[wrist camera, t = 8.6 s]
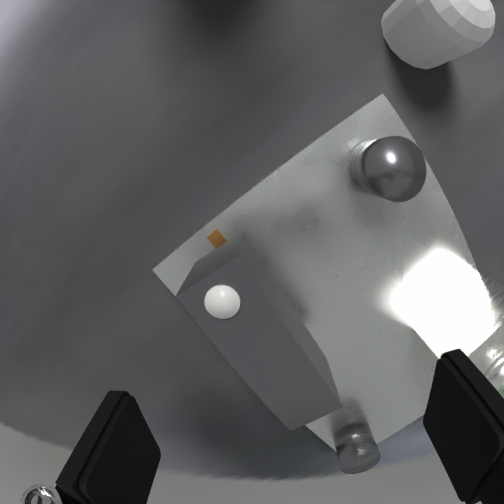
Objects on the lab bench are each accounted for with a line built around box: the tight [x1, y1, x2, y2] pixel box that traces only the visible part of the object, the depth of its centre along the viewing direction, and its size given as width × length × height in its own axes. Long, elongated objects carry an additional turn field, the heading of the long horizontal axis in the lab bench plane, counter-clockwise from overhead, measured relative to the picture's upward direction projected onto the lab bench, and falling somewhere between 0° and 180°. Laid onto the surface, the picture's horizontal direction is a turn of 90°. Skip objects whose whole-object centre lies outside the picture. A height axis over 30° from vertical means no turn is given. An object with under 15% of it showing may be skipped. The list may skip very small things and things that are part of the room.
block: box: [176, 232, 343, 431], centre depth 14 cm, size 8×3×6 cm, turn 33°
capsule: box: [381, 0, 495, 70], centre depth 12 cm, size 5×5×8 cm
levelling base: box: [153, 93, 504, 474], centre depth 16 cm, size 16×22×10 cm
